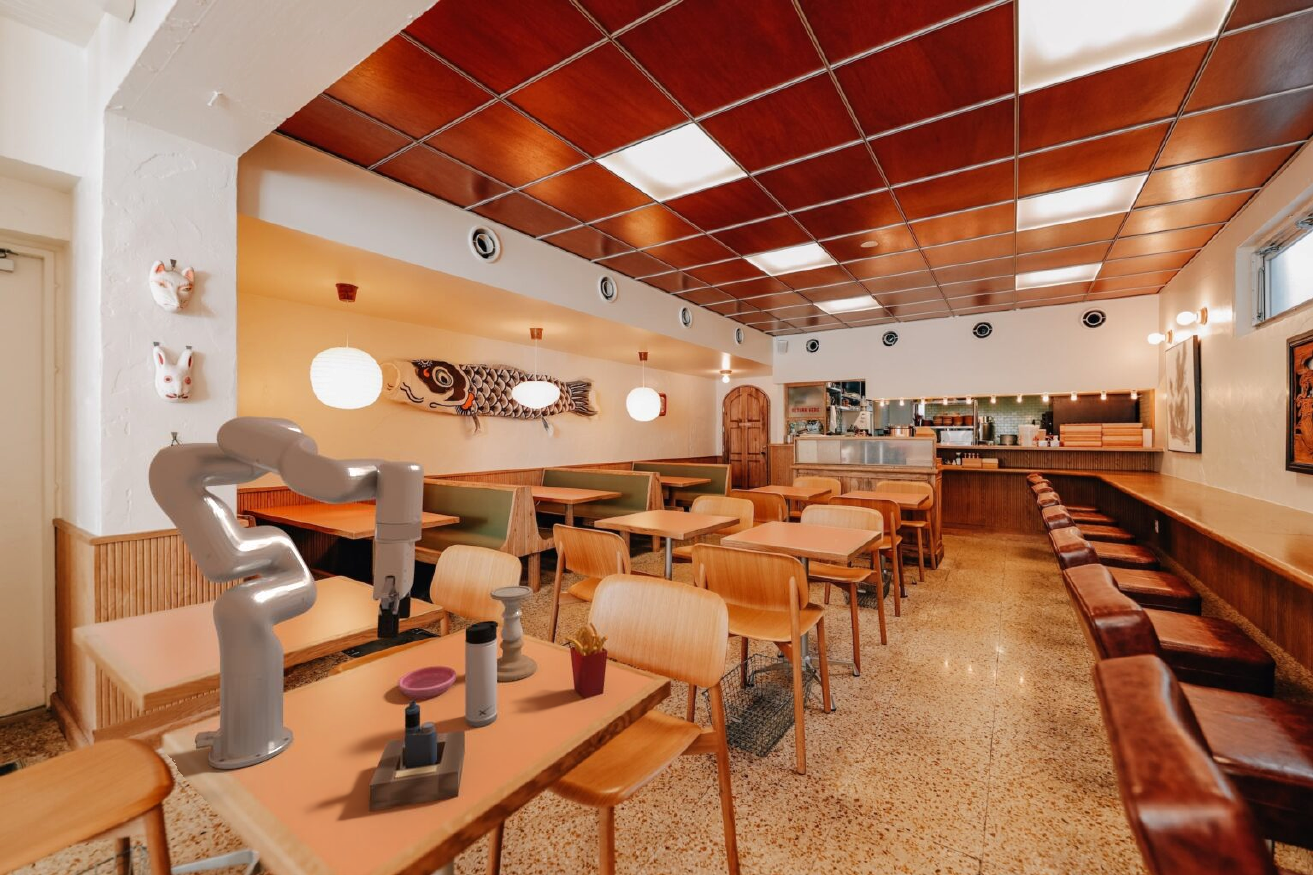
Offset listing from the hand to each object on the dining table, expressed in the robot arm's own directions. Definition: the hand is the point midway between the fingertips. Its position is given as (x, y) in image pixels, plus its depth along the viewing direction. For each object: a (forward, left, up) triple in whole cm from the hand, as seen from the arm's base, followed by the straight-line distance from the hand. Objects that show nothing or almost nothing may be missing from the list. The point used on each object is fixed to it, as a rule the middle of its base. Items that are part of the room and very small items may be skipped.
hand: (394, 627), depth 96 cm
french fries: (+36, +20, -25) cm, 48 cm away
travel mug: (+14, +13, -25) cm, 31 cm away
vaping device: (+5, -5, -24) cm, 25 cm away
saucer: (+1, +31, -25) cm, 40 cm away
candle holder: (+20, +36, -25) cm, 48 cm away
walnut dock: (+5, -5, -25) cm, 26 cm away
